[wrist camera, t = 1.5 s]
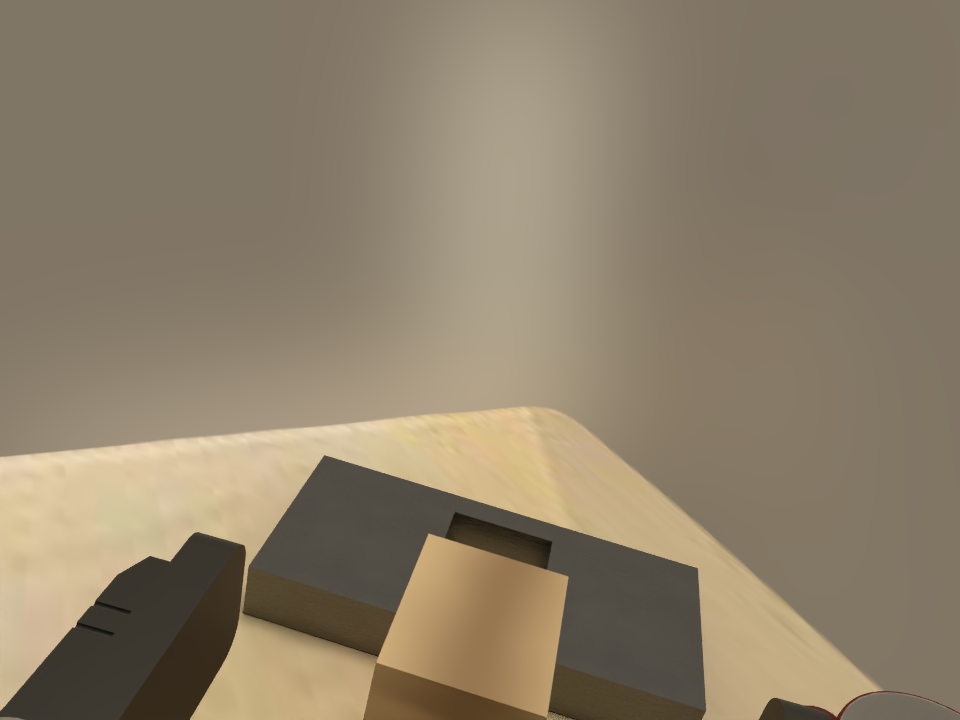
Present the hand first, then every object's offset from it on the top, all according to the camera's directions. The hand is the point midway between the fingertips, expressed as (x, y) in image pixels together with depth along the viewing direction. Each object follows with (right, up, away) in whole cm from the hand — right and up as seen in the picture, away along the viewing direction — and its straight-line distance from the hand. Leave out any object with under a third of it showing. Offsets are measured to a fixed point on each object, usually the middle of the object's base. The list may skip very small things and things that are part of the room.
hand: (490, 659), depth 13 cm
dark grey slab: (0, -9, +32) cm, 33 cm away
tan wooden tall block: (-3, -15, +20) cm, 25 cm away
